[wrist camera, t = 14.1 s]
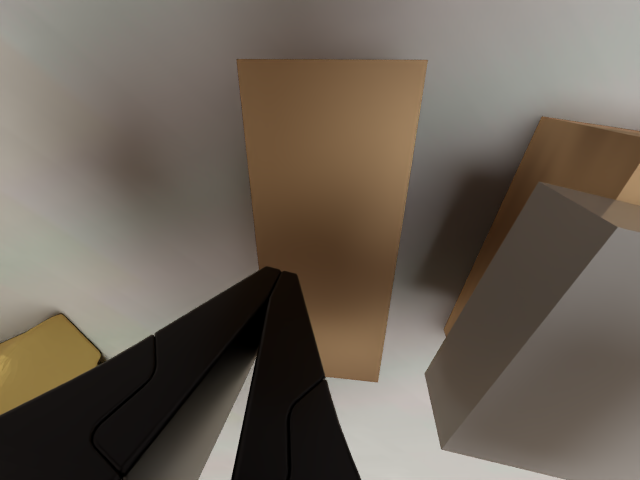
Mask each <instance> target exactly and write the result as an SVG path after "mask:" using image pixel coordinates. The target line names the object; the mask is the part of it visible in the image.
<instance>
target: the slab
mask: <svg viewBox="0 0 640 480" xmlns="http://www.w3.org/2000/svg"><path fill="white" fill-rule="evenodd" d="M425 378H426V382H427V387H428V391H429V396H430V400H431V405H432V409H433V414H434V419H435V423H436V428H437V432H438V437H439V441H440V446H441V449H442V450H446V451H450V452H454V453H458V454H462V455H466V456H471V457H475V458H479V459H483V460H487V461H491V462H495V463H500V464H504V465H508V466H512V467H516V468H520V469H524V470H529V471H533V472H537V473H541V474H545V475H549V476H554V477H558V478H562V479H566V480H640V206H639V205H635V204H631V203H627V202H623V201H619V200H614V199H610V198H606V197H602V196H598V195H594V194H589V193H585V192H581V191H577V190H573V189H569V188H564V187H560V186H556V185H552V184H548V183H543V182H538V184H537V185H536V187H535V189H534V190H533V192H532V194H531V196H530V197H529V199H528V201H527V202H526V204H525V206H524V207H523V209H522V211H521V212H520V214H519V216H518V217H517V219H516V221H515V222H514V224H513V226H512V227H511V229H510V231H509V233H508V234H507V236H506V238H505V239H504V241H503V243H502V244H501V246H500V248H499V249H498V251H497V253H496V254H495V256H494V258H493V259H492V261H491V263H490V264H489V266H488V268H487V270H486V271H485V273H484V275H483V276H482V278H481V280H480V281H479V283H478V285H477V286H476V288H475V290H474V291H473V293H472V295H471V296H470V298H469V300H468V301H467V303H466V305H465V307H464V308H463V310H462V312H461V313H460V315H459V317H458V318H457V320H456V322H455V323H454V325H453V327H452V328H451V330H450V332H449V333H448V335H447V337H446V338H445V340H444V342H443V344H442V345H441V347H440V349H439V350H438V352H437V354H436V355H435V357H434V359H433V360H432V362H431V364H430V365H429V367H428V369H427V370H426V372H425Z"/></svg>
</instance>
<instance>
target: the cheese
mask: <svg viewBox="0 0 640 480" xmlns="http://www.w3.org/2000/svg"><path fill="white" fill-rule="evenodd" d="M100 356H101V354H100V352H99V351H98V350H97V349H96V348H95V347H94V346H93V344H92V343H90V342H89V341H88V340H87V339H86V338H85V337H84V336H83V335H82V334H81V333H80V332H79V331H78V329H77V328H76V327H75V326H74V325H73V324H72V323H70V322H69V321H68V320H67V318H66V317H64V316H63V315H61V314H60V315H56V316H54V317H51V318H49V319H47V320H46V321H44V322H42V323H40V324H39V325H37V326H35V327H34V328H32V329H30V330H29V331H27V332H26V333H24V334H21V335H19V336H16V337H14V338H12V339H10V340H7V341H5V342H3V343H1V344H0V415H1V414H3V413H5V412H7V411H9V410H11V409H13V408H15V407H17V406H19V405H21V404H23V403H25V402H27V401H29V400H31V399H33V398H35V397H37V396H39V395H41V394H43V393H45V392H47V391H49V390H51V389H53V388H55V387H57V386H59V385H61V384H63V383H65V382H67V381H69V380H71V379H73V378H75V377H77V376H79V375H81V374H83V373H85V372H87V371H88V370H90V369H92V368H94V367H96V366H98V364H97V363H98V361H99V359H100Z"/></svg>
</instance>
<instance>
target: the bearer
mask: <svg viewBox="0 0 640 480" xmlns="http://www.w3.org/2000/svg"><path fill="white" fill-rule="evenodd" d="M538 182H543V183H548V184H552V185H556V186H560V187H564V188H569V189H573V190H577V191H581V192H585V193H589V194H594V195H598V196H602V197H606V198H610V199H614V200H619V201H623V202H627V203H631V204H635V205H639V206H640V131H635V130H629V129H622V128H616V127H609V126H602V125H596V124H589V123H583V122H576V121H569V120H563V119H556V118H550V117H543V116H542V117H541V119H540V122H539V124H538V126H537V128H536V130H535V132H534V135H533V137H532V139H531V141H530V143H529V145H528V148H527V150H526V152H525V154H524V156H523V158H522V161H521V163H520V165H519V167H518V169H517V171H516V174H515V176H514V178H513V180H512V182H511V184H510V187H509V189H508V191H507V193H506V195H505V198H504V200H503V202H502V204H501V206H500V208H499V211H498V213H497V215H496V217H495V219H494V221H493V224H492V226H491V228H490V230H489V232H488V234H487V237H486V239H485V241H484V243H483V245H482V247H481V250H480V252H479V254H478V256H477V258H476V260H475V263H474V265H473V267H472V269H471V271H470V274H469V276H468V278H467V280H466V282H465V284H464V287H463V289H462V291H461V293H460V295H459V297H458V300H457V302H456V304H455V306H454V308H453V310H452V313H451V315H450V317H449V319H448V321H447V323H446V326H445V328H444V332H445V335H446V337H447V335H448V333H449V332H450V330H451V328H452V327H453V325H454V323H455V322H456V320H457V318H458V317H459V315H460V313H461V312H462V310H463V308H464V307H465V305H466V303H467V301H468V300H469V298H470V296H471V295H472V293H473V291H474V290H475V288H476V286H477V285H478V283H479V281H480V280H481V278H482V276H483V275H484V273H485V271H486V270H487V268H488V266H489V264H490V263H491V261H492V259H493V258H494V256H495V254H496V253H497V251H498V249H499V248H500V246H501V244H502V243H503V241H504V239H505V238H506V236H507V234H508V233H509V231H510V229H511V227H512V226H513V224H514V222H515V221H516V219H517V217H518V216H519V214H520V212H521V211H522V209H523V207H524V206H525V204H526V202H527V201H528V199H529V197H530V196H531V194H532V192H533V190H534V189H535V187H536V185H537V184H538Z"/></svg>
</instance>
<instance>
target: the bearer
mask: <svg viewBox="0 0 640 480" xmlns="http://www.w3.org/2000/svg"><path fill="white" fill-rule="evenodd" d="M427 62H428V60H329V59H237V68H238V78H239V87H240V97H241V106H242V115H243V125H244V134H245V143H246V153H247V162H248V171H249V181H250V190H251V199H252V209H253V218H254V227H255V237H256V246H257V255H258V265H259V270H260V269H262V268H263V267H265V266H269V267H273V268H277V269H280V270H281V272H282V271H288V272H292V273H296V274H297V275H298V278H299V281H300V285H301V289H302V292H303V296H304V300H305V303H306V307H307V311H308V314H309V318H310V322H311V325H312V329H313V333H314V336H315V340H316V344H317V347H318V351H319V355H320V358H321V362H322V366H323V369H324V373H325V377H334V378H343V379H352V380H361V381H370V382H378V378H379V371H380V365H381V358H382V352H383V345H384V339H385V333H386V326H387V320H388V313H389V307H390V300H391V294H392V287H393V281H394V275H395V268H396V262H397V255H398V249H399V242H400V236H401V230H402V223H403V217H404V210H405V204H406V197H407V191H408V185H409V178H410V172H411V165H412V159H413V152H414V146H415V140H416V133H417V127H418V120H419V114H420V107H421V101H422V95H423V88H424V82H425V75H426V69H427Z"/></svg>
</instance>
